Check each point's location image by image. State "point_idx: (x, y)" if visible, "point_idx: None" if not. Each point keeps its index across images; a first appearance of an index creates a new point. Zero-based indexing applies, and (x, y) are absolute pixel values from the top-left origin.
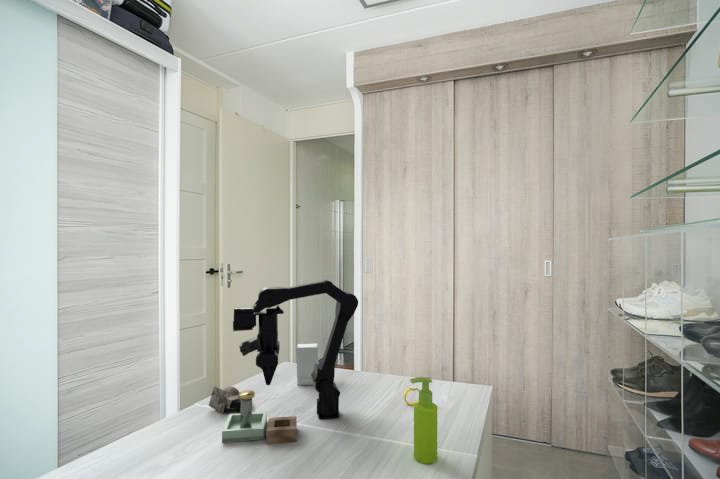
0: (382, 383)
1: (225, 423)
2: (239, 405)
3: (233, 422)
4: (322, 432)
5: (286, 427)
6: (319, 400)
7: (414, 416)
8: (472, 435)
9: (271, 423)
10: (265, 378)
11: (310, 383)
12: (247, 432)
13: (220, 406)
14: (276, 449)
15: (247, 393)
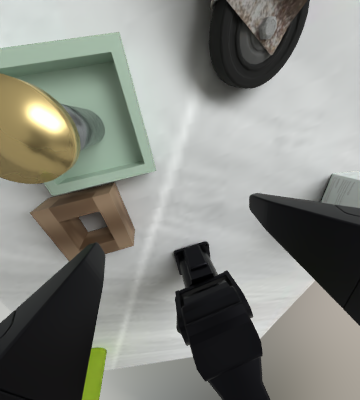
0: (287, 284)
1: (29, 44)
2: (216, 51)
3: (113, 68)
4: (127, 267)
5: (69, 246)
6: (190, 274)
7: None
8: (149, 362)
9: (77, 210)
10: (51, 284)
11: (324, 200)
12: None
13: None
14: (35, 223)
15: (9, 143)
